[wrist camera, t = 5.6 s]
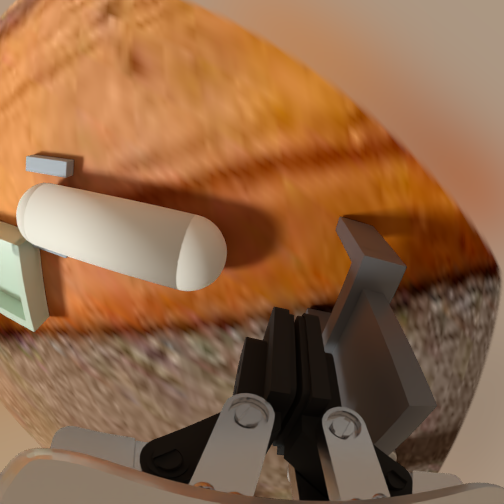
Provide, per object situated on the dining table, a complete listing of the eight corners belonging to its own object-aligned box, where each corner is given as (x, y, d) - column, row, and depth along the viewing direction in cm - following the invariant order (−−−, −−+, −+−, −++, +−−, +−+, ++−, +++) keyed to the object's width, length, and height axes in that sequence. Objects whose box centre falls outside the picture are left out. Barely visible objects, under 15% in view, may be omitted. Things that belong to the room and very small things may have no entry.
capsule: (238, 214, 17) (226, 240, 13) (225, 276, 18) (211, 314, 14) (43, 173, 16) (3, 187, 13) (43, 227, 18) (7, 247, 14)
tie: (372, 225, 16) (478, 369, 5) (332, 324, 18) (361, 486, 8) (339, 216, 16) (423, 365, 5) (303, 318, 18) (314, 487, 8)
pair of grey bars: (74, 159, 16) (66, 161, 15) (72, 253, 18) (66, 258, 18) (33, 154, 16) (26, 156, 15) (34, 240, 18) (28, 244, 18)
